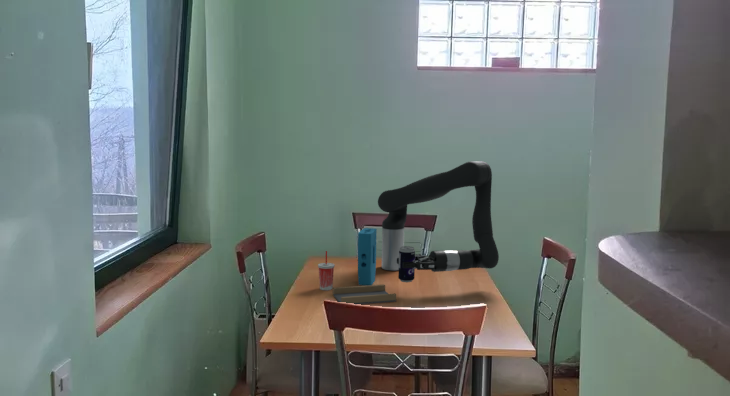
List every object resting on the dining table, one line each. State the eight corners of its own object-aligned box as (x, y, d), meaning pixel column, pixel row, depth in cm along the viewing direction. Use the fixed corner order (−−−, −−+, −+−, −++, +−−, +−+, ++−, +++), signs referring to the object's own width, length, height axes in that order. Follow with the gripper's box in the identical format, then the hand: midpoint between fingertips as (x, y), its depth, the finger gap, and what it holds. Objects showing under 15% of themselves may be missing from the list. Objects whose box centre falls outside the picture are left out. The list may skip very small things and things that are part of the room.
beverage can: (403, 283, 212) (404, 249, 211) (395, 279, 217) (396, 246, 216) (417, 281, 215) (418, 248, 213) (408, 277, 220) (409, 245, 218)
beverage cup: (327, 285, 228) (327, 248, 226) (337, 288, 223) (338, 251, 222) (314, 288, 223) (314, 250, 222) (325, 291, 219) (325, 253, 218)
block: (370, 286, 227) (370, 233, 224) (357, 286, 228) (357, 233, 225) (376, 279, 238) (376, 228, 236) (363, 278, 239) (364, 228, 237)
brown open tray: (332, 294, 215) (332, 287, 215) (384, 291, 220) (384, 284, 220) (341, 305, 202) (341, 297, 202) (396, 301, 208) (396, 294, 207)
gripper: (436, 246, 225) (393, 248, 221) (452, 255, 212) (407, 257, 207) (436, 266, 226) (393, 268, 222) (452, 276, 213) (406, 278, 208)
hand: (400, 263), depth 214 cm, fingers closed on beverage can, 5 cm apart
